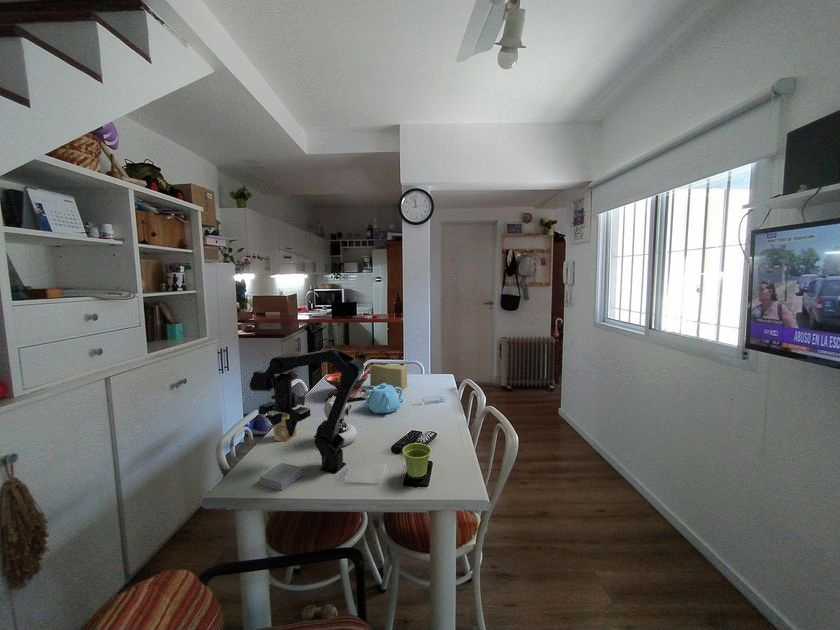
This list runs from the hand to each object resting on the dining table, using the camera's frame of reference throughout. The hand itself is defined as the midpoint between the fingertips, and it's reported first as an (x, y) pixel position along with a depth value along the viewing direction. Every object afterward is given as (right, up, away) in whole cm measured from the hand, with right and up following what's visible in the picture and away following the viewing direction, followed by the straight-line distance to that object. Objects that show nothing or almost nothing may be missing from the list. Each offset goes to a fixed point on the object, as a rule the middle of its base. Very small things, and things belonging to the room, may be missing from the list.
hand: (285, 434), depth 114 cm
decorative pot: (+29, -6, +50) cm, 58 cm away
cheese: (+27, -3, +82) cm, 87 cm away
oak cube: (0, -1, 0) cm, 1 cm away
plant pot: (+46, -11, -6) cm, 48 cm away
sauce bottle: (-9, -9, +20) cm, 24 cm away
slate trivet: (+2, -12, -8) cm, 14 cm away
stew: (+7, -5, +71) cm, 71 cm away
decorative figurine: (+14, -9, +19) cm, 25 cm away
